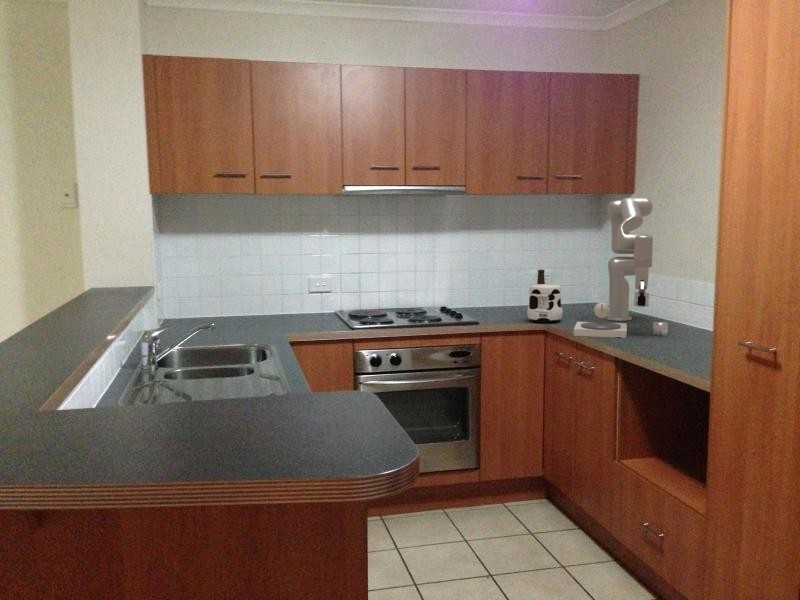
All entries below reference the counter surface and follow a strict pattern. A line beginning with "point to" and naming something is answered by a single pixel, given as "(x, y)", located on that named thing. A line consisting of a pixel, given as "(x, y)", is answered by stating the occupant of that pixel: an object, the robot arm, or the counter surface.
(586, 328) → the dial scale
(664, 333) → the cylinder
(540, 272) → the beer bottle
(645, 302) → the cylinder
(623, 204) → the robot arm
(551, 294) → the milk container
